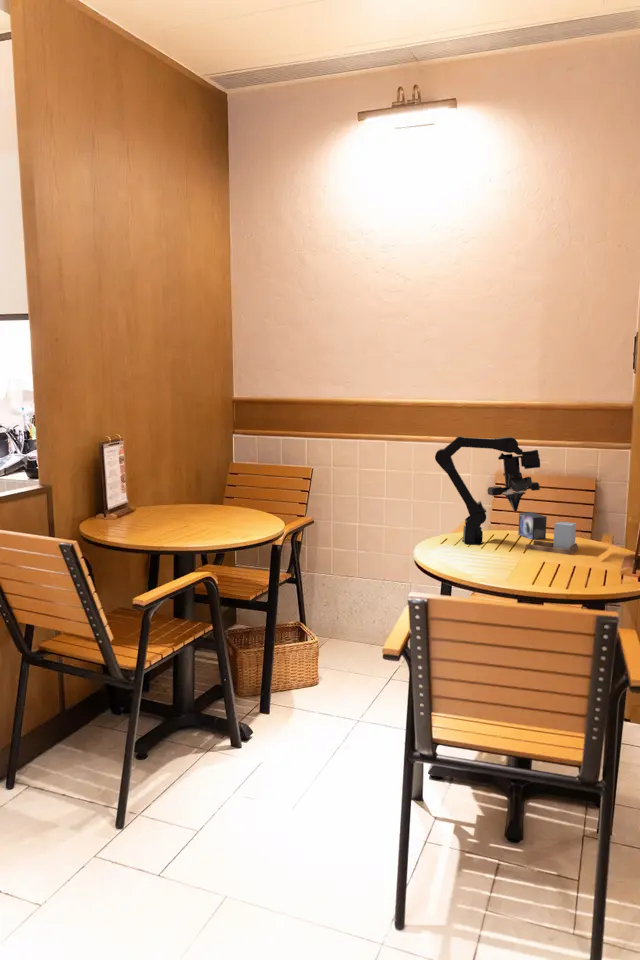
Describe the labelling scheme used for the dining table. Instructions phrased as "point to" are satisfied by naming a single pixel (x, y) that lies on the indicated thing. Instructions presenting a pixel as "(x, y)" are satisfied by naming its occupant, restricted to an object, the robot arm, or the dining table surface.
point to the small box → (532, 526)
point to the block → (564, 535)
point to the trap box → (550, 547)
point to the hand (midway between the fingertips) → (515, 511)
